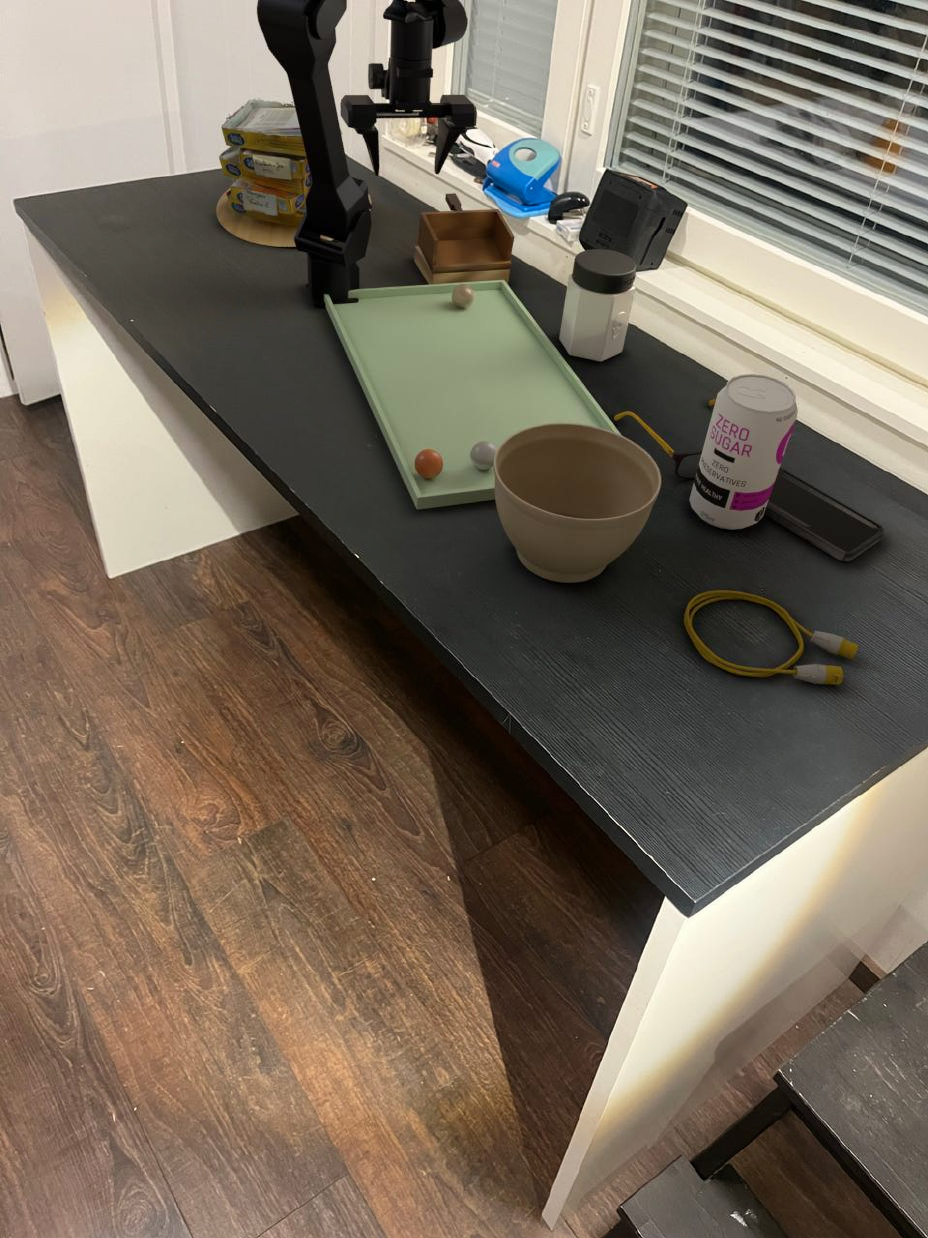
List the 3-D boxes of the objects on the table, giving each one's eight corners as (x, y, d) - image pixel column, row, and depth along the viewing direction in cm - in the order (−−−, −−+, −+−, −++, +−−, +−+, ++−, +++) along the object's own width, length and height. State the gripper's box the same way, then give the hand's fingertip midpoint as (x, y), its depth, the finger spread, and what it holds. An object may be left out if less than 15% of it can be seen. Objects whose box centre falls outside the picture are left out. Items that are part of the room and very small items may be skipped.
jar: (591, 367, 127) (608, 281, 119) (547, 343, 131) (559, 258, 123) (633, 348, 132) (651, 264, 124) (589, 325, 136) (604, 242, 128)
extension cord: (794, 726, 84) (802, 712, 82) (657, 626, 92) (662, 611, 90) (866, 665, 90) (874, 650, 89) (733, 576, 98) (738, 562, 97)
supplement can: (765, 496, 108) (804, 380, 98) (757, 540, 103) (798, 422, 92) (694, 480, 110) (725, 364, 99) (683, 522, 104) (714, 404, 94)
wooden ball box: (432, 274, 139) (435, 242, 135) (409, 225, 146) (411, 194, 142) (510, 269, 142) (516, 238, 138) (484, 222, 150) (488, 191, 146)
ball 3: (467, 437, 106) (467, 458, 109) (473, 456, 104) (473, 477, 107) (495, 433, 107) (494, 454, 109) (501, 452, 105) (500, 473, 107)
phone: (775, 464, 112) (888, 529, 104) (772, 472, 112) (884, 537, 105) (735, 487, 108) (849, 556, 100) (732, 495, 108) (845, 565, 101)
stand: (432, 289, 140) (433, 273, 139) (414, 260, 147) (414, 245, 146) (508, 284, 144) (509, 269, 142) (487, 256, 150) (488, 241, 149)
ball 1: (409, 450, 104) (422, 446, 106) (409, 479, 105) (422, 474, 107) (435, 452, 102) (448, 448, 105) (435, 481, 103) (447, 477, 106)
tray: (416, 509, 102) (417, 497, 101) (323, 301, 135) (322, 291, 134) (644, 480, 109) (647, 468, 108) (502, 289, 142) (503, 279, 141)
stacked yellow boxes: (308, 262, 144) (304, 145, 132) (184, 218, 152) (170, 104, 140) (399, 215, 160) (402, 106, 148) (282, 177, 168) (276, 72, 156)
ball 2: (452, 313, 136) (456, 298, 133) (447, 294, 137) (451, 279, 134) (473, 311, 137) (478, 296, 134) (468, 293, 138) (473, 278, 135)
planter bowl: (598, 497, 106) (617, 413, 99) (665, 593, 95) (691, 506, 88) (462, 517, 102) (471, 430, 94) (516, 619, 91) (530, 530, 83)
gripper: (458, 40, 138) (451, 153, 149) (331, 38, 133) (333, 156, 144) (482, 61, 130) (472, 179, 141) (348, 60, 125) (349, 183, 136)
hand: (406, 174), depth 141 cm, fingers open, 9 cm apart
